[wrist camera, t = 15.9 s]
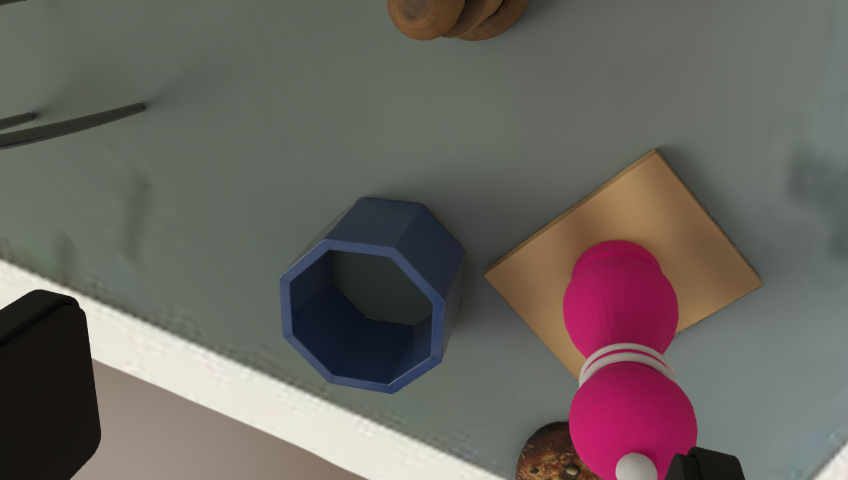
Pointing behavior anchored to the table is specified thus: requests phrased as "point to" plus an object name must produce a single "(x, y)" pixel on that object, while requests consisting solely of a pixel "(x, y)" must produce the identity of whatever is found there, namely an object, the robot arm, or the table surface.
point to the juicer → (60, 127)
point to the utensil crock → (345, 326)
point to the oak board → (634, 222)
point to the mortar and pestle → (454, 17)
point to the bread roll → (552, 457)
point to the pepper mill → (625, 365)
